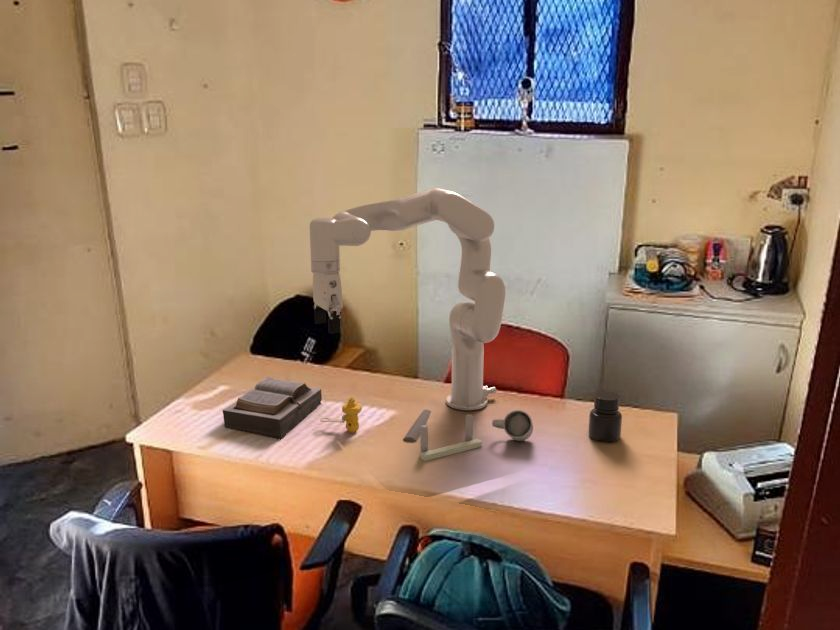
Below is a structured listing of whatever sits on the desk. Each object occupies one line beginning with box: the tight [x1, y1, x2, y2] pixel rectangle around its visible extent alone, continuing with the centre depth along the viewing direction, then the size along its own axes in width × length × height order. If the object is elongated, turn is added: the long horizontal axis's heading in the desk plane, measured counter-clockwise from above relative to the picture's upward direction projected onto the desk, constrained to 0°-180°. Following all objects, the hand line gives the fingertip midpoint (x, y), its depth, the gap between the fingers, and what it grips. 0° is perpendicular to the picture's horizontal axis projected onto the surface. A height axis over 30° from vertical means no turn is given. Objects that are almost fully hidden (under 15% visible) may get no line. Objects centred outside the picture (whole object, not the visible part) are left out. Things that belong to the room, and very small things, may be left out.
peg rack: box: [419, 414, 483, 462], centre depth 210 cm, size 18×4×8 cm, turn 119°
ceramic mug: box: [491, 409, 534, 442], centre depth 215 cm, size 11×8×8 cm
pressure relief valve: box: [319, 397, 363, 434], centre depth 222 cm, size 6×12×10 cm, turn 78°
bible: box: [222, 376, 323, 441], centre depth 230 cm, size 23×27×10 cm
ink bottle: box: [587, 390, 623, 442], centre depth 219 cm, size 10×9×12 cm
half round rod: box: [403, 409, 432, 442], centre depth 226 cm, size 4×20×2 cm, turn 165°
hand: (327, 327), depth 211 cm, fingers open, 9 cm apart
